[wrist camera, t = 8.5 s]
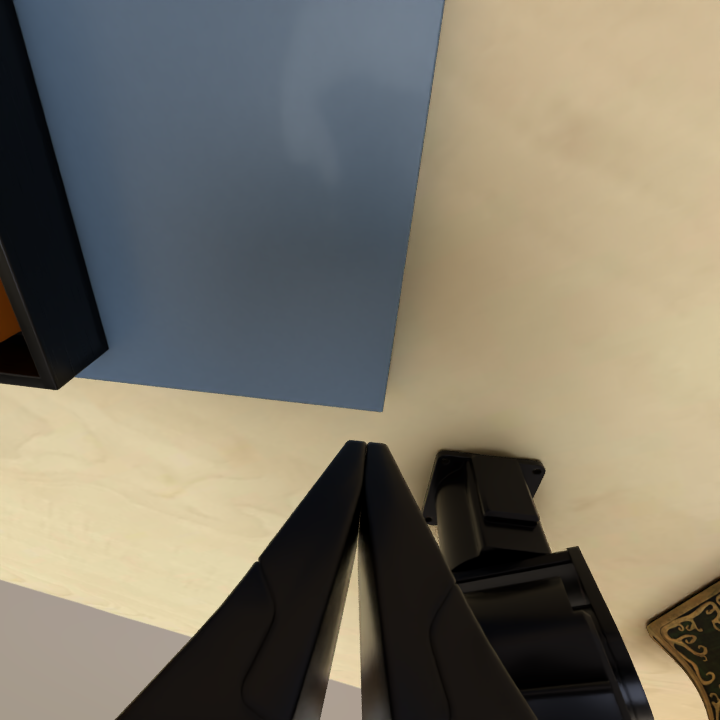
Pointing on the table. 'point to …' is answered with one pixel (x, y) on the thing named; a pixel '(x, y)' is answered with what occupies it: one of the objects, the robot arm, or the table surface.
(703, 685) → the decorative box
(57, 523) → the table surface
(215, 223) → the blue flat slab
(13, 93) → the black open tray
